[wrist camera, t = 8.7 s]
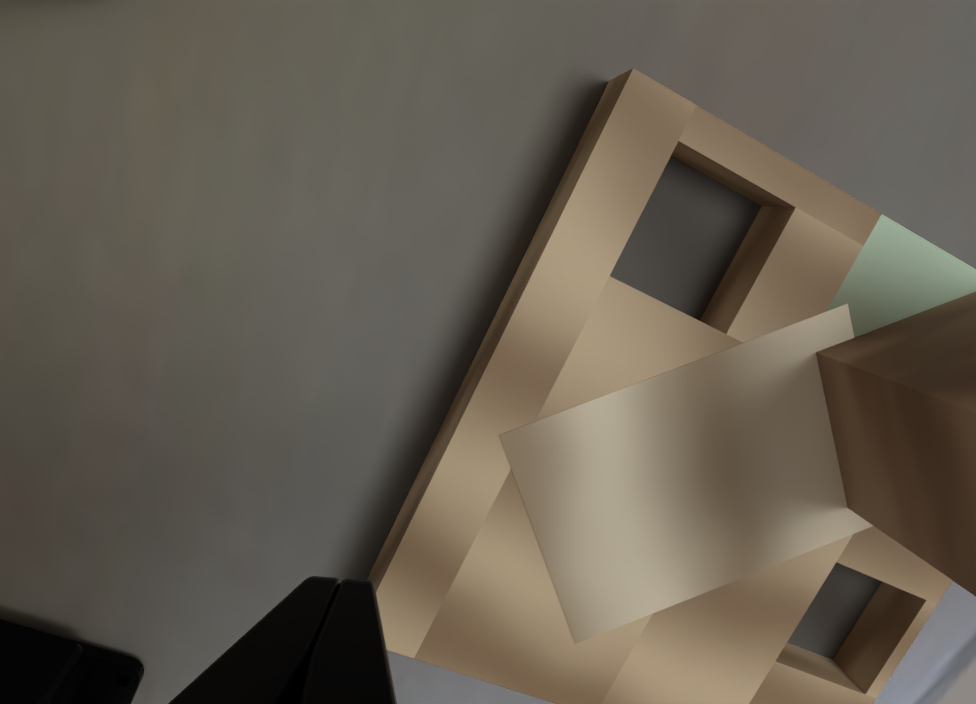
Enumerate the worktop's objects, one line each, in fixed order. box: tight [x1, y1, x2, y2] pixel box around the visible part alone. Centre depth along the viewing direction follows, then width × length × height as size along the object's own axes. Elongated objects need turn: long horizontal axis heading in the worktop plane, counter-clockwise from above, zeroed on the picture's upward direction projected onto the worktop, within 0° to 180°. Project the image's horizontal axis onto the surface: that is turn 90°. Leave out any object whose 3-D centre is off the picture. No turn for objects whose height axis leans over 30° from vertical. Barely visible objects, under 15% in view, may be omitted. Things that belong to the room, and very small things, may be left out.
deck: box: [367, 68, 976, 704], centre depth 21 cm, size 18×18×2 cm
